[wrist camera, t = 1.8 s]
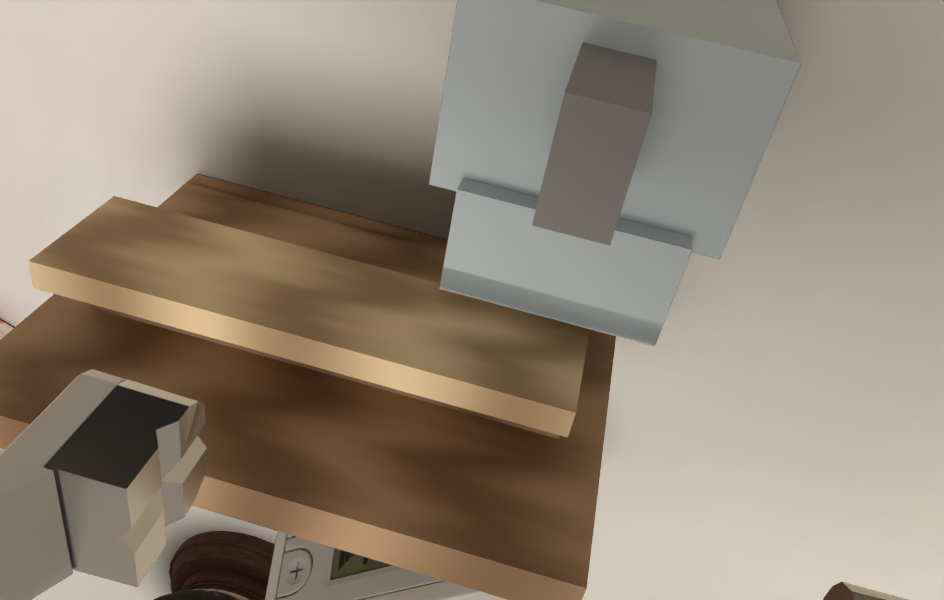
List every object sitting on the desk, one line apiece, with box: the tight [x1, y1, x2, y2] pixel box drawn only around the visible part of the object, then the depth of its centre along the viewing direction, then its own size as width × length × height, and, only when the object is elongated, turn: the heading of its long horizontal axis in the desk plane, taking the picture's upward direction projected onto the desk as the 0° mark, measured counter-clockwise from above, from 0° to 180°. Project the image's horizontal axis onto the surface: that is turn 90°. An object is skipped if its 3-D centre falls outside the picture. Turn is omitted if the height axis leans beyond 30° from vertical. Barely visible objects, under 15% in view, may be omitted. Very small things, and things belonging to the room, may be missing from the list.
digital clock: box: [265, 531, 507, 600], centre depth 39 cm, size 16×9×11 cm, turn 110°
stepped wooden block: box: [0, 174, 616, 600], centre depth 30 cm, size 20×7×16 cm, turn 80°
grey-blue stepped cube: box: [429, 0, 801, 346], centre depth 25 cm, size 9×9×13 cm
